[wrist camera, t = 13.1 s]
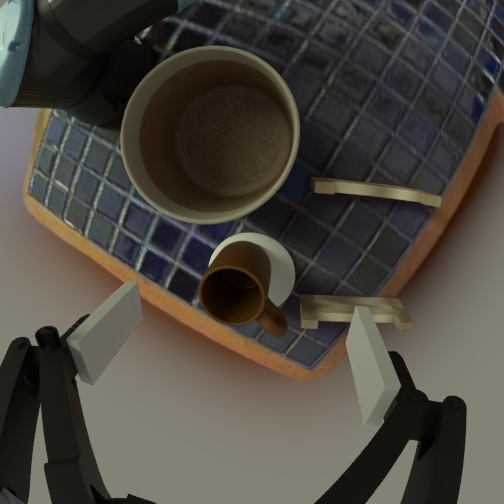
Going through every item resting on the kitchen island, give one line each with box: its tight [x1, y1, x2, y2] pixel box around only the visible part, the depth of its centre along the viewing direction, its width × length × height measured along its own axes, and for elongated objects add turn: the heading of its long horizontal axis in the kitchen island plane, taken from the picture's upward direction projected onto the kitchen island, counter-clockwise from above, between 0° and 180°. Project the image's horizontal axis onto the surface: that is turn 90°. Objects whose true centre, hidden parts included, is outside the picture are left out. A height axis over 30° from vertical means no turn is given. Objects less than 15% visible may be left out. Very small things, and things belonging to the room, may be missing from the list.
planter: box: [121, 46, 300, 224], centre depth 28 cm, size 16×16×14 cm
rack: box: [300, 177, 441, 331], centre depth 34 cm, size 15×17×7 cm
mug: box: [199, 241, 288, 337], centre depth 35 cm, size 12×8×9 cm, turn 47°
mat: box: [209, 232, 295, 307], centre depth 40 cm, size 12×12×1 cm
